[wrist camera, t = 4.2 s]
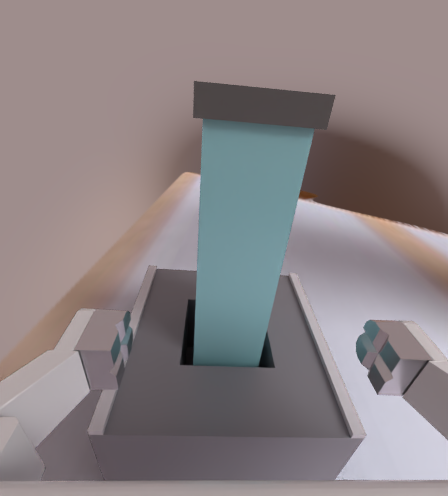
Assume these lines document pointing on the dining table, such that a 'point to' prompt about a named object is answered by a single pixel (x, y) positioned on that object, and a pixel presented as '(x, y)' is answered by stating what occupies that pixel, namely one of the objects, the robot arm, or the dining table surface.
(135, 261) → the dining table surface
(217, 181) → the plug
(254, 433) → the grey socket base
